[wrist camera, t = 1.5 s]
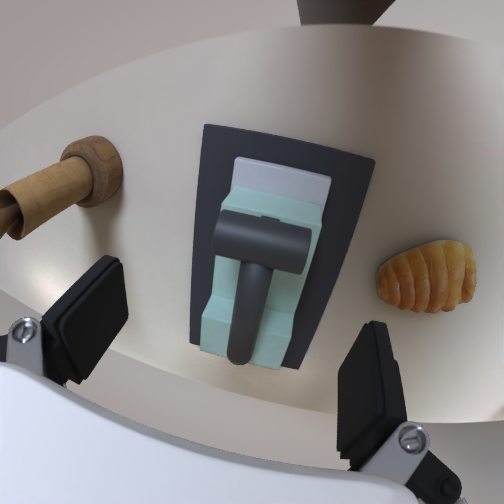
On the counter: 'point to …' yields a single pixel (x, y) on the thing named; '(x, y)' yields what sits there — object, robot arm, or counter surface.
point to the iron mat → (333, 218)
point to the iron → (261, 260)
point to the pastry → (429, 277)
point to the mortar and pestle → (61, 186)
